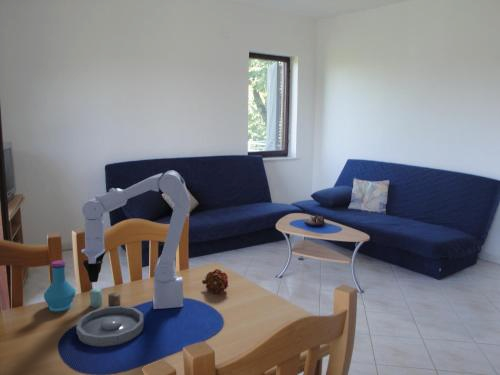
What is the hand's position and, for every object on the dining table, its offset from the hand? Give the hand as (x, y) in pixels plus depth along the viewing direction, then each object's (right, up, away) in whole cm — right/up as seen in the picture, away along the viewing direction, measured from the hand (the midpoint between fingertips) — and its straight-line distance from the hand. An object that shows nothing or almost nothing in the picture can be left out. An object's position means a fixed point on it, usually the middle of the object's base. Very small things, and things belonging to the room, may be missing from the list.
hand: (95, 277), depth 131 cm
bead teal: (0, -10, +2) cm, 10 cm away
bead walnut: (+7, -10, -1) cm, 12 cm away
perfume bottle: (-11, -10, 0) cm, 15 cm away
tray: (+10, -12, -13) cm, 20 cm away
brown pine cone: (+38, -8, +15) cm, 41 cm away
